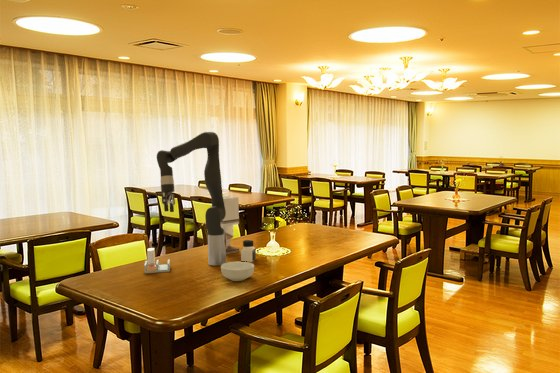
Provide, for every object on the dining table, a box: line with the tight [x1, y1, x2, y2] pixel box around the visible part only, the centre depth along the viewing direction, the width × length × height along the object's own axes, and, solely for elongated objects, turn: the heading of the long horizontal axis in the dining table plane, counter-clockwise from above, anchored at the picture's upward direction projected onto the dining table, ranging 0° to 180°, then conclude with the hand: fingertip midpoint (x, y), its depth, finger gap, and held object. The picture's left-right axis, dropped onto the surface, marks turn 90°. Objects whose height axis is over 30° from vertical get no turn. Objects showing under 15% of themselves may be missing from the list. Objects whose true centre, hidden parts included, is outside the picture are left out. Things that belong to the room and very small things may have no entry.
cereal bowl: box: [220, 260, 255, 282], centre depth 230 cm, size 17×17×7 cm
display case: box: [220, 195, 240, 255], centre depth 288 cm, size 11×11×35 cm
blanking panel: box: [146, 247, 156, 267], centre depth 248 cm, size 6×4×10 cm, turn 13°
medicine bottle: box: [240, 239, 257, 263], centre depth 266 cm, size 7×7×12 cm
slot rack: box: [143, 258, 171, 274], centre depth 248 cm, size 11×13×4 cm
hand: (169, 211), depth 265 cm, fingers open, 8 cm apart
